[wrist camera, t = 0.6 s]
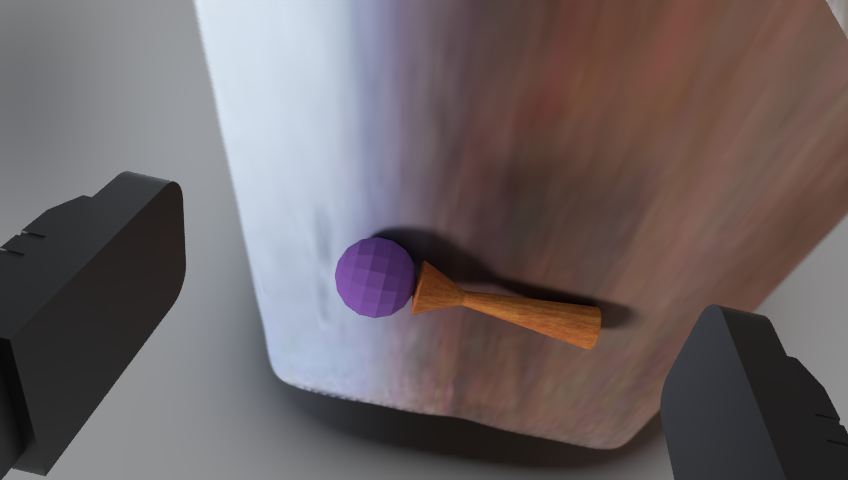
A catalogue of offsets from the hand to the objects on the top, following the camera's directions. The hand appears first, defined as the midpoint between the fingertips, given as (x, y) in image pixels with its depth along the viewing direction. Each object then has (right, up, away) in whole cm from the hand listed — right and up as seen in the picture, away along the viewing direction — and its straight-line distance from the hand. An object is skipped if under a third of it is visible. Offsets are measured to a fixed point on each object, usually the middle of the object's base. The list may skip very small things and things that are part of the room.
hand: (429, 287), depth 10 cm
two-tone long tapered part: (+4, -2, +41) cm, 41 cm away
